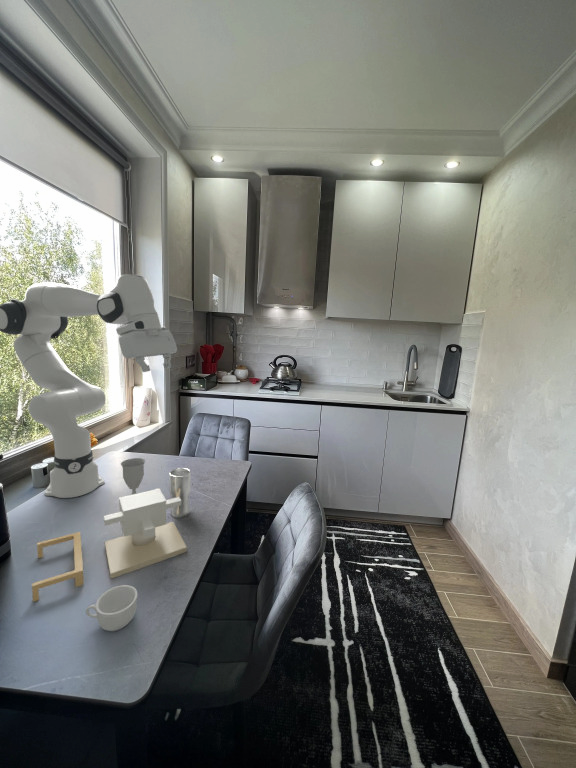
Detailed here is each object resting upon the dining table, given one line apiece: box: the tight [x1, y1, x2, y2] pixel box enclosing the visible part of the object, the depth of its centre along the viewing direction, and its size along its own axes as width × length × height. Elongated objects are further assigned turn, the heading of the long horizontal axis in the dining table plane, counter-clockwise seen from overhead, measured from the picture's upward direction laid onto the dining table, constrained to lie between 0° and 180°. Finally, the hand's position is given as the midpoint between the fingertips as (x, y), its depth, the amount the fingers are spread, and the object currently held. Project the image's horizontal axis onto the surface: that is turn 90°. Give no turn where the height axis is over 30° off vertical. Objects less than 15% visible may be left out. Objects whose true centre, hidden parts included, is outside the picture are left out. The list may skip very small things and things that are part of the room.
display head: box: [103, 488, 188, 579], centre depth 88 cm, size 14×20×14 cm
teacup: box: [85, 584, 138, 632], centre depth 67 cm, size 10×8×5 cm
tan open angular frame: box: [31, 531, 85, 603], centre depth 80 cm, size 10×17×4 cm, turn 35°
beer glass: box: [168, 467, 192, 519], centre depth 106 cm, size 7×7×15 cm
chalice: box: [120, 457, 146, 495], centre depth 105 cm, size 7×7×18 cm
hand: (157, 369), depth 99 cm, fingers open, 8 cm apart
